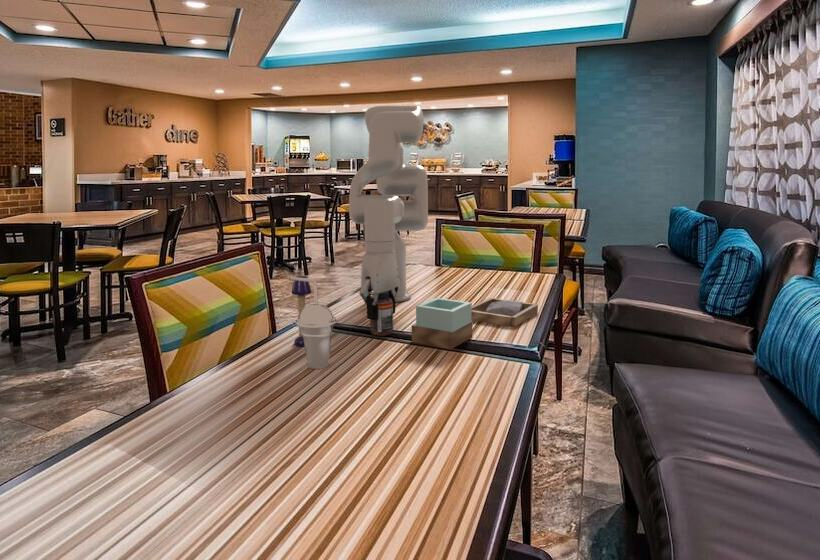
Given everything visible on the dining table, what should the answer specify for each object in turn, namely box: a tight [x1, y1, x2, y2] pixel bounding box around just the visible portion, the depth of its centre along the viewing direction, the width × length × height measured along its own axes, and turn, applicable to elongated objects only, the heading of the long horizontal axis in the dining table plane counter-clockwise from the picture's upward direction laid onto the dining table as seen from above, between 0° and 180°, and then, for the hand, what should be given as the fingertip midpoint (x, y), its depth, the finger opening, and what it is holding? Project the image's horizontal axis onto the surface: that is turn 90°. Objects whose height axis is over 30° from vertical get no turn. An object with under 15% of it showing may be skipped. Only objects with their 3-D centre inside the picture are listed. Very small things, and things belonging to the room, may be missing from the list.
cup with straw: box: [288, 276, 337, 370], centre depth 116 cm, size 8×9×20 cm
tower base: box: [411, 320, 473, 351], centre depth 135 cm, size 11×11×4 cm
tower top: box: [415, 297, 473, 332], centre depth 133 cm, size 10×10×5 cm
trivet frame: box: [471, 297, 539, 327], centre depth 156 cm, size 15×17×2 cm
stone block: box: [485, 299, 524, 316], centre depth 156 cm, size 12×5×10 cm
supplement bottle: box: [369, 291, 394, 337], centre depth 139 cm, size 6×6×11 cm
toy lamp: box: [291, 275, 312, 347], centre depth 131 cm, size 5×5×17 cm
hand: (381, 315), depth 140 cm, fingers open, 6 cm apart
